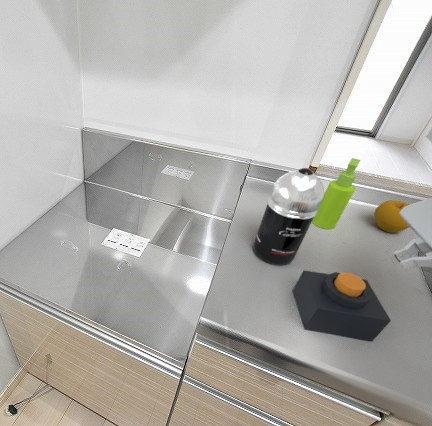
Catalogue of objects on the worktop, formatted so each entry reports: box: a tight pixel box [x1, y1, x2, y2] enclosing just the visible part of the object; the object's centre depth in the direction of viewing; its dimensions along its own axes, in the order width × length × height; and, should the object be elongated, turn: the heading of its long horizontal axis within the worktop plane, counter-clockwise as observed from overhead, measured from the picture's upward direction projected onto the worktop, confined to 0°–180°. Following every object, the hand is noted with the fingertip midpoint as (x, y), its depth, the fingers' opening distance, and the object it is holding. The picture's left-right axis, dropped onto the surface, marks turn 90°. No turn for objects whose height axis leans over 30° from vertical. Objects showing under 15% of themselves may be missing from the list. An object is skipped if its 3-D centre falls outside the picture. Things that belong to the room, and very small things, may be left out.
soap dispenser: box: [311, 157, 361, 230], centre depth 82 cm, size 6×7×20 cm
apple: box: [373, 199, 410, 234], centre depth 82 cm, size 8×8×9 cm
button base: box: [292, 270, 392, 343], centre depth 60 cm, size 12×10×9 cm
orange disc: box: [334, 272, 366, 297], centre depth 57 cm, size 4×4×2 cm
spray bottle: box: [252, 167, 325, 266], centre depth 70 cm, size 10×10×25 cm
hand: (398, 261), depth 51 cm, fingers closed
